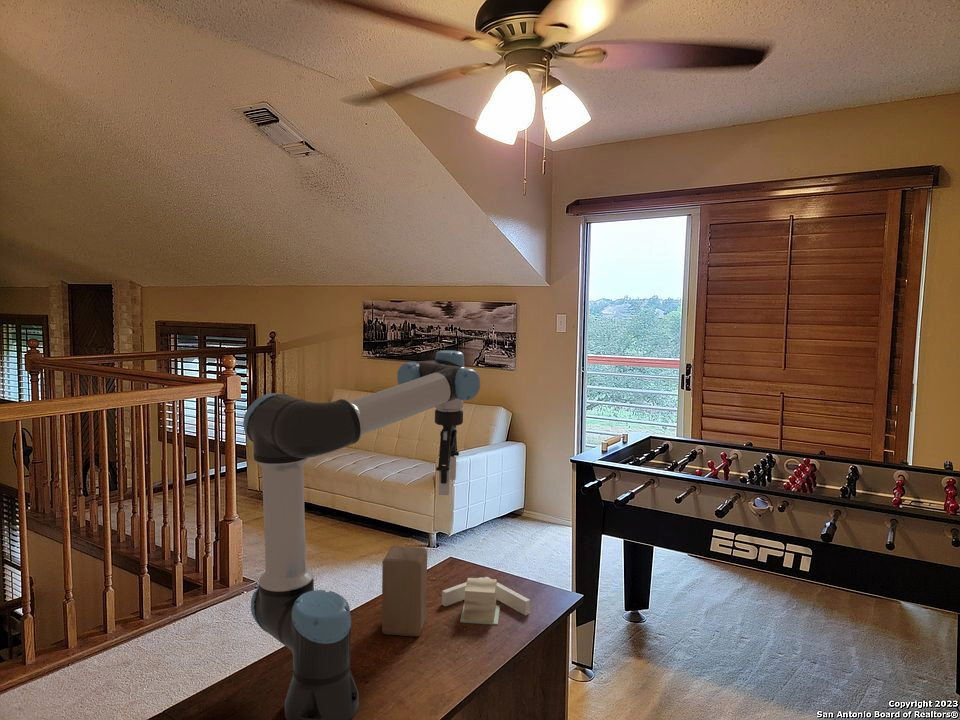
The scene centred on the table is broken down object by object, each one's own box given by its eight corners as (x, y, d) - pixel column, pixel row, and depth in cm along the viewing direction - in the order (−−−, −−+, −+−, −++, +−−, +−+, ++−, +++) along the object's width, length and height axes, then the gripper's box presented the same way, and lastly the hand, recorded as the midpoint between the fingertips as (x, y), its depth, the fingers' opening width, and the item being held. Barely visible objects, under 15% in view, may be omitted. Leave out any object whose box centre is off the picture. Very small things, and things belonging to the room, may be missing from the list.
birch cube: (494, 621, 176) (494, 592, 175) (464, 619, 177) (464, 590, 176) (495, 607, 184) (496, 579, 183) (467, 605, 184) (467, 577, 184)
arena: (479, 634, 170) (479, 620, 169) (435, 606, 184) (436, 592, 183) (529, 613, 181) (530, 599, 181) (484, 588, 195) (485, 575, 195)
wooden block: (426, 618, 177) (428, 546, 175) (419, 638, 167) (420, 562, 165) (390, 616, 178) (390, 544, 176) (380, 635, 168) (381, 560, 166)
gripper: (457, 419, 163) (455, 502, 166) (468, 401, 188) (466, 474, 190) (427, 417, 164) (426, 501, 166) (441, 400, 189) (440, 472, 191)
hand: (447, 486), depth 178 cm, fingers open, 13 cm apart
